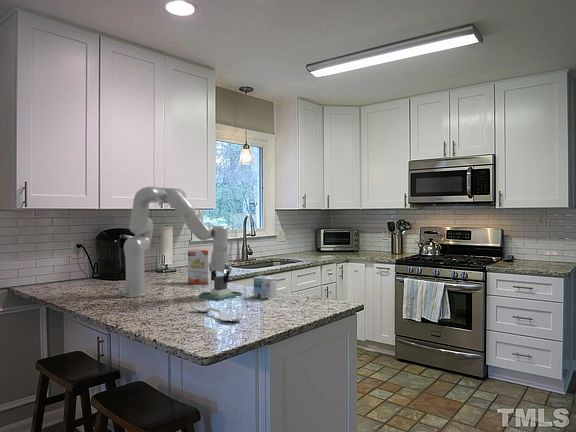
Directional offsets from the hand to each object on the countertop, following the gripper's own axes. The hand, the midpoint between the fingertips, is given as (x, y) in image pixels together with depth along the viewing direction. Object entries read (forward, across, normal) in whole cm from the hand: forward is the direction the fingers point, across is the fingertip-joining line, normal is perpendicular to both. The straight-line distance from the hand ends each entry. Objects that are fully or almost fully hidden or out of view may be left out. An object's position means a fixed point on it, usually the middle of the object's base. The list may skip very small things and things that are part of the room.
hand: (219, 281), depth 231 cm
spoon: (+8, +30, -28) cm, 41 cm away
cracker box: (+9, -37, +17) cm, 42 cm away
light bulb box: (+8, +21, +13) cm, 26 cm away
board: (+8, +1, 0) cm, 8 cm away
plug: (+6, 0, 0) cm, 6 cm away
